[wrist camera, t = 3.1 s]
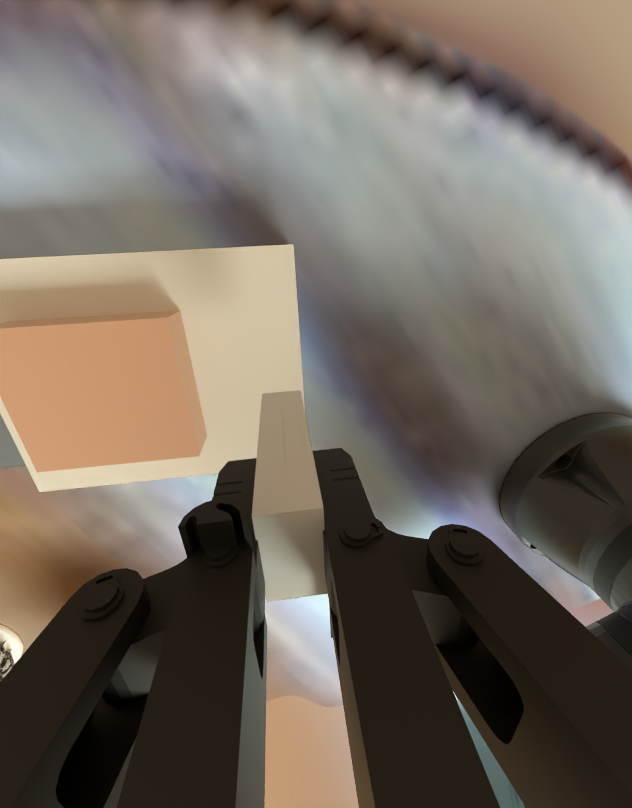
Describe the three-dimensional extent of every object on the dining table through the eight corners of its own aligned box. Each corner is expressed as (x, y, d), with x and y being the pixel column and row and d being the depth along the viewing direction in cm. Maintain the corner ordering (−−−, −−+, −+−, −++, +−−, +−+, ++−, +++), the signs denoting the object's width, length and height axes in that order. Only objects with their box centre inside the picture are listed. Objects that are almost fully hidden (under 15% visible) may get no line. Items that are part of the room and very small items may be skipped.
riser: (290, 246, 21) (293, 244, 17) (304, 436, 27) (308, 463, 23) (-10, 261, 20) (-75, 263, 16) (73, 458, 25) (39, 491, 22)
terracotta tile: (180, 310, 18) (167, 317, 16) (207, 436, 21) (199, 456, 19) (6, 321, 17) (-32, 330, 15) (62, 449, 21) (37, 472, 18)
